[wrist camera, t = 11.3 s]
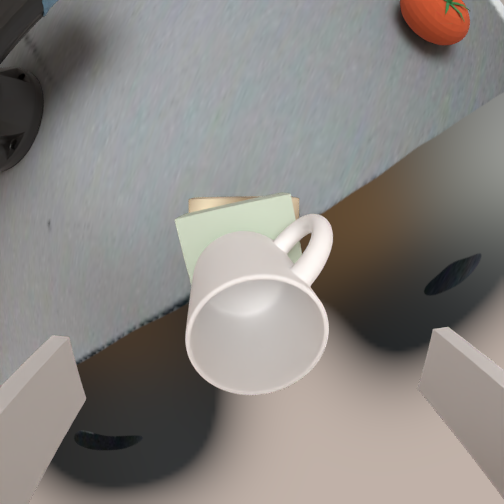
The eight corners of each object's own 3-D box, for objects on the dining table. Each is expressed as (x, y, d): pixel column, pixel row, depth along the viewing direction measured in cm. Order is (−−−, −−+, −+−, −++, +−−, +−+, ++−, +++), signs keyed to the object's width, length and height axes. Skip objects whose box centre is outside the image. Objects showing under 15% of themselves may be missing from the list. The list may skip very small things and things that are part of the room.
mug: (267, 172, 25) (303, 185, 15) (337, 237, 27) (398, 282, 17) (174, 282, 27) (156, 352, 17) (247, 333, 29) (263, 412, 19)
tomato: (385, -12, 30) (414, -45, 20) (441, 9, 31) (476, -15, 21) (392, 42, 32) (429, 12, 23) (450, 62, 33) (492, 43, 23)
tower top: (207, 306, 33) (203, 326, 29) (183, 214, 31) (174, 219, 26) (299, 286, 34) (310, 303, 29) (282, 192, 31) (290, 193, 26)
